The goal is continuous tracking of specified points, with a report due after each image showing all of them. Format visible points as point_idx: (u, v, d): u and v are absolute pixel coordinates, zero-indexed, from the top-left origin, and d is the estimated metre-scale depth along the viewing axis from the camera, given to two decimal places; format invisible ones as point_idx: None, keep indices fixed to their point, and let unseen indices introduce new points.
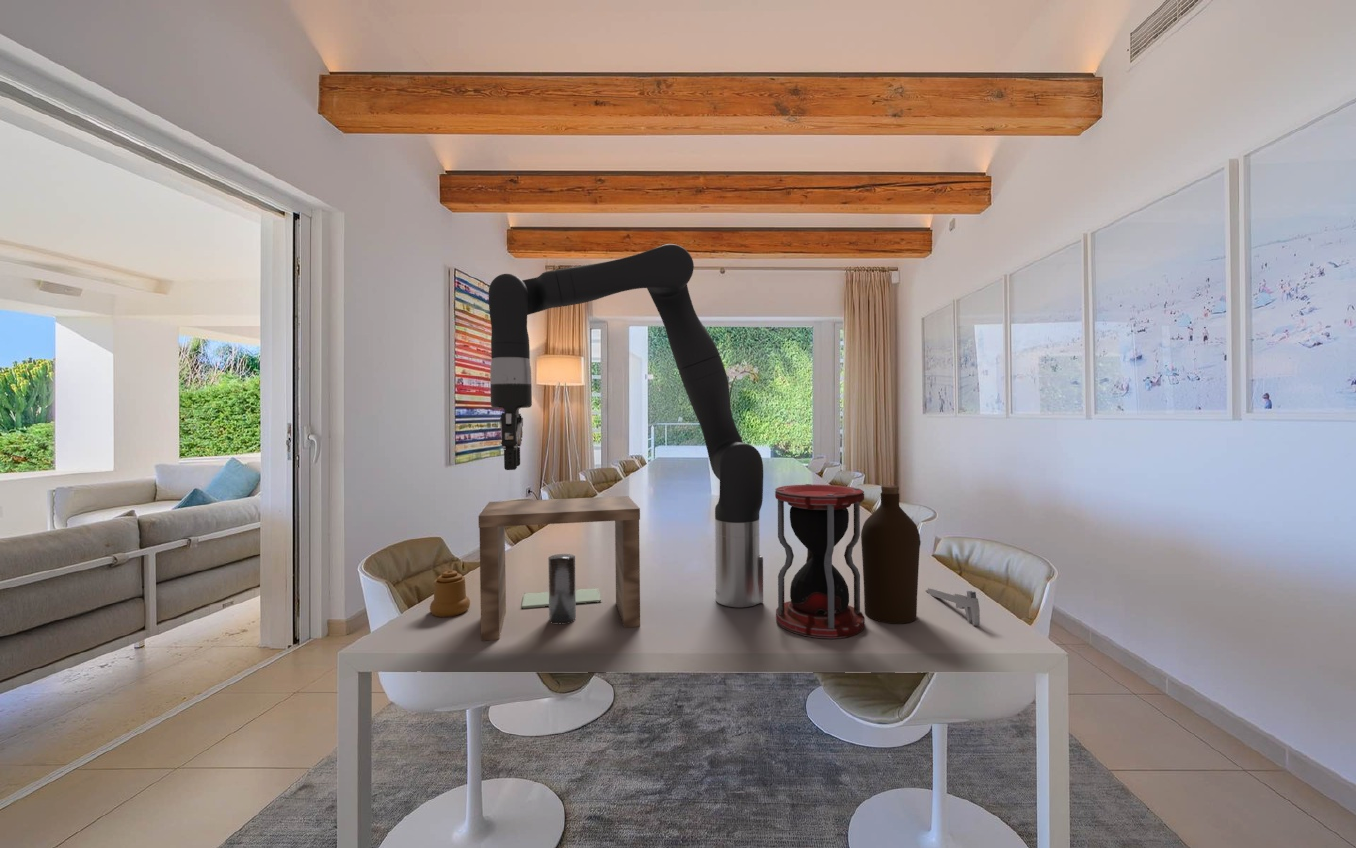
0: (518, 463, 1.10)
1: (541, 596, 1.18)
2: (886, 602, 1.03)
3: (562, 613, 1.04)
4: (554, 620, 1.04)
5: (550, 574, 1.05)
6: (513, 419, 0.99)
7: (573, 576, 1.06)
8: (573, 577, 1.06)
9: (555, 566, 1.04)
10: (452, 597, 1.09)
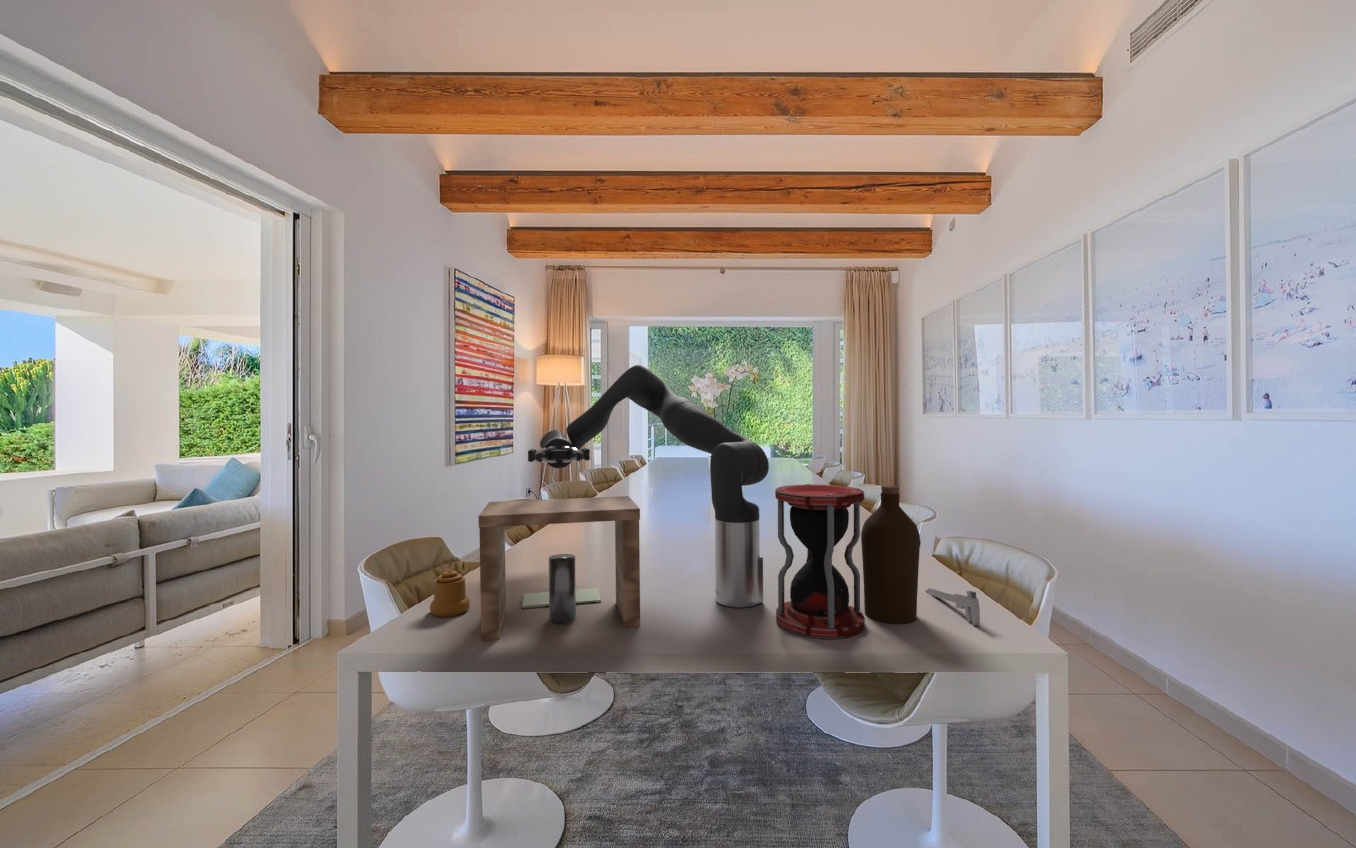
0: (576, 452, 1.27)
1: (541, 596, 1.18)
2: (886, 602, 1.03)
3: (562, 613, 1.04)
4: (554, 620, 1.04)
5: (550, 574, 1.05)
6: None
7: (573, 576, 1.06)
8: (573, 577, 1.06)
9: (556, 566, 1.04)
10: (452, 597, 1.09)
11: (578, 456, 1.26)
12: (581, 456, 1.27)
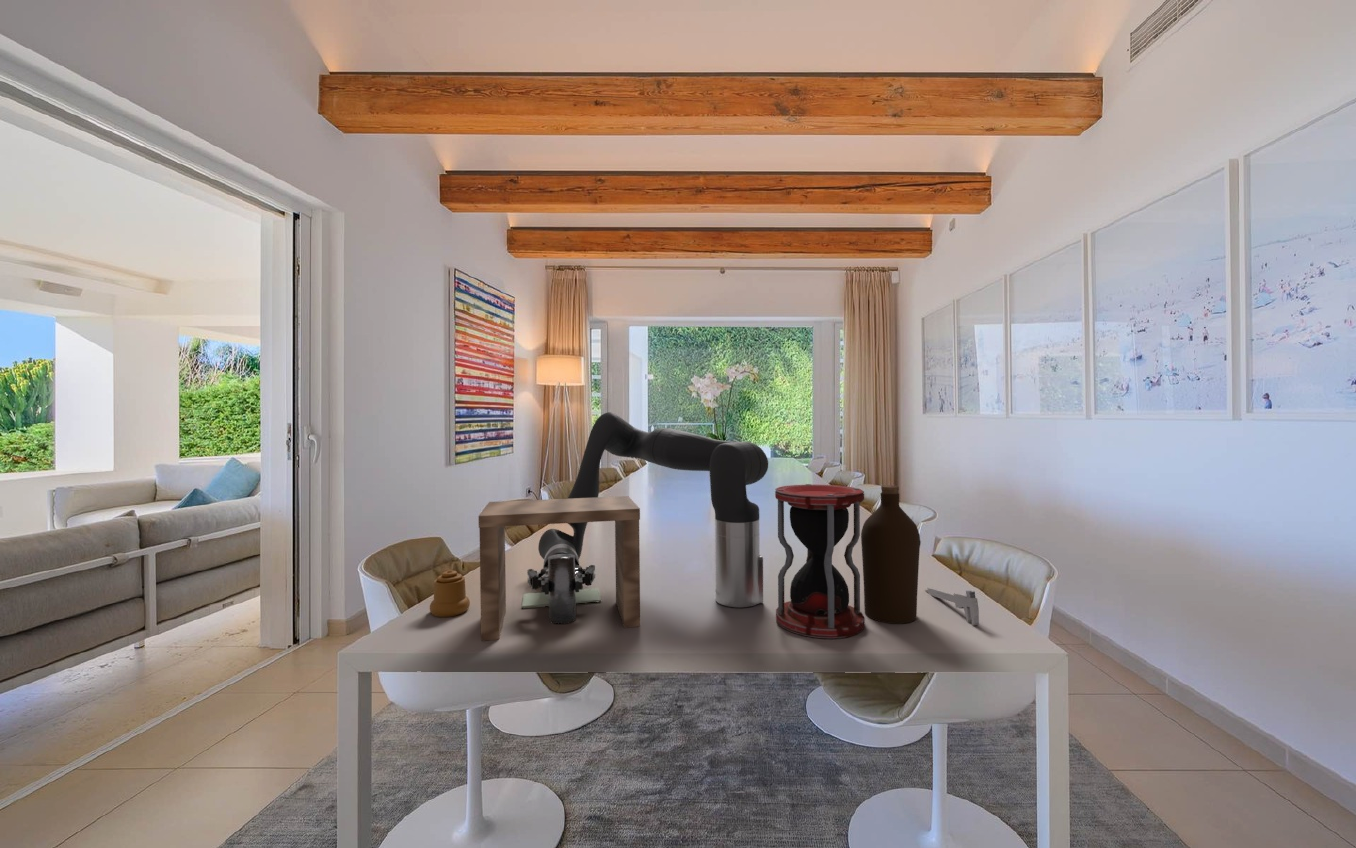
0: (575, 582, 1.05)
1: (541, 596, 1.18)
2: (886, 602, 1.03)
3: (562, 613, 1.04)
4: (554, 620, 1.04)
5: (550, 574, 1.05)
6: (528, 572, 1.11)
7: (573, 576, 1.06)
8: (573, 577, 1.06)
9: (555, 566, 1.04)
10: (452, 597, 1.09)
11: (577, 587, 1.04)
12: (580, 586, 1.05)
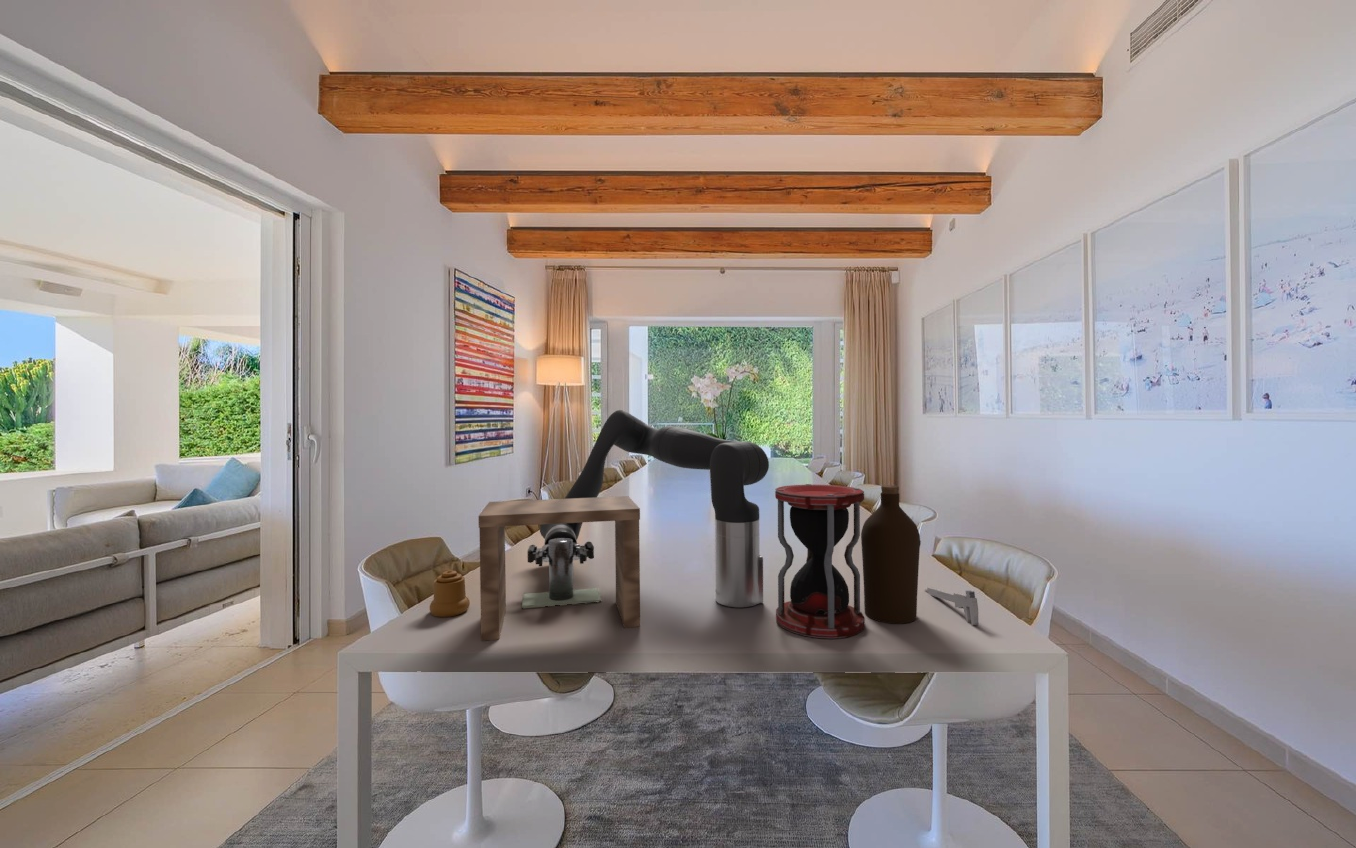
0: (580, 554, 1.18)
1: (541, 596, 1.18)
2: (886, 602, 1.03)
3: (561, 591, 1.16)
4: (553, 597, 1.16)
5: (550, 556, 1.16)
6: None
7: (571, 557, 1.17)
8: (571, 558, 1.17)
9: (555, 549, 1.16)
10: (452, 597, 1.09)
11: (581, 558, 1.17)
12: (584, 558, 1.18)
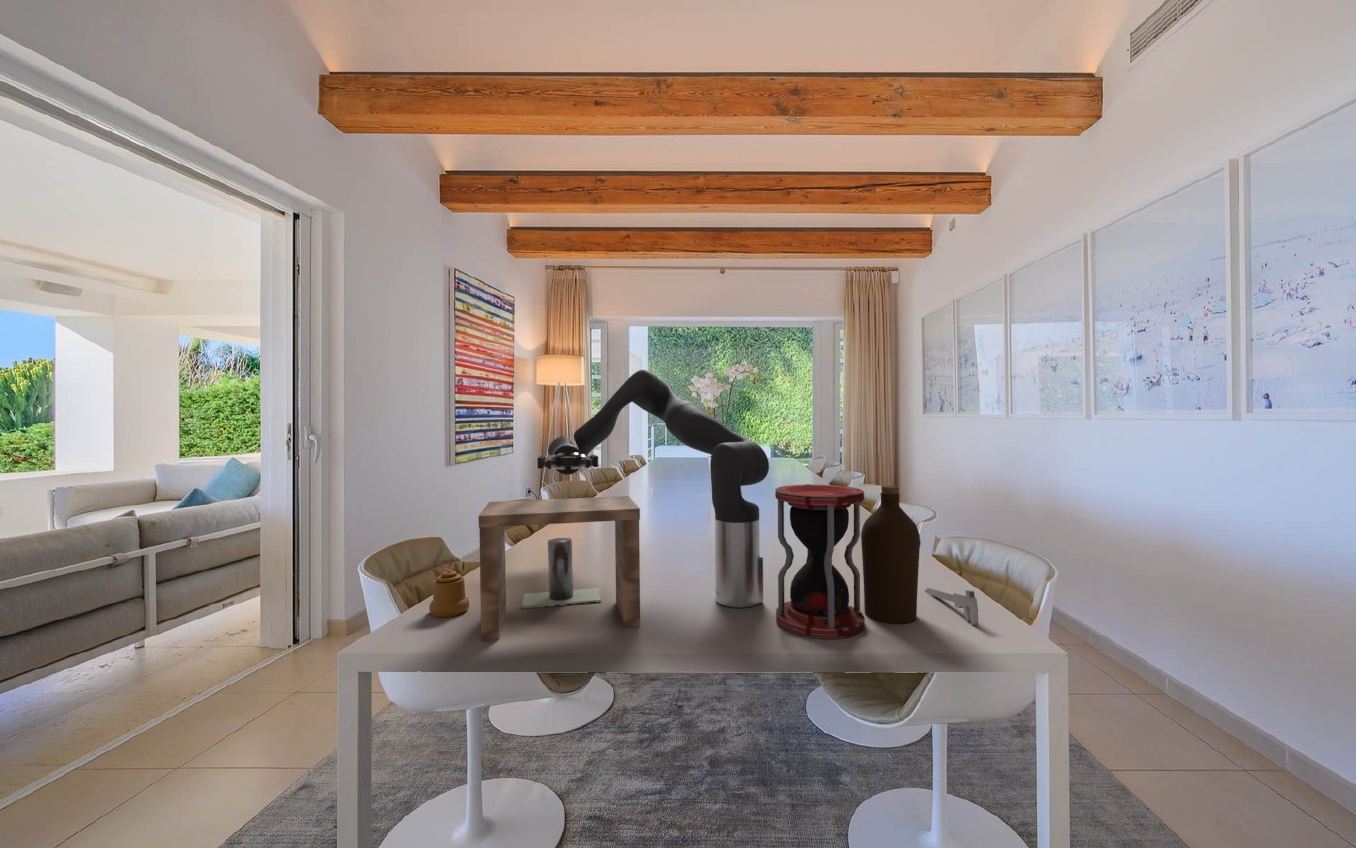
0: (585, 460, 1.28)
1: (541, 596, 1.18)
2: (886, 602, 1.03)
3: (561, 590, 1.16)
4: (554, 597, 1.16)
5: (549, 555, 1.16)
6: (539, 457, 1.35)
7: (570, 557, 1.17)
8: (570, 558, 1.17)
9: (554, 548, 1.16)
10: (451, 597, 1.09)
11: (587, 463, 1.28)
12: (590, 463, 1.29)
